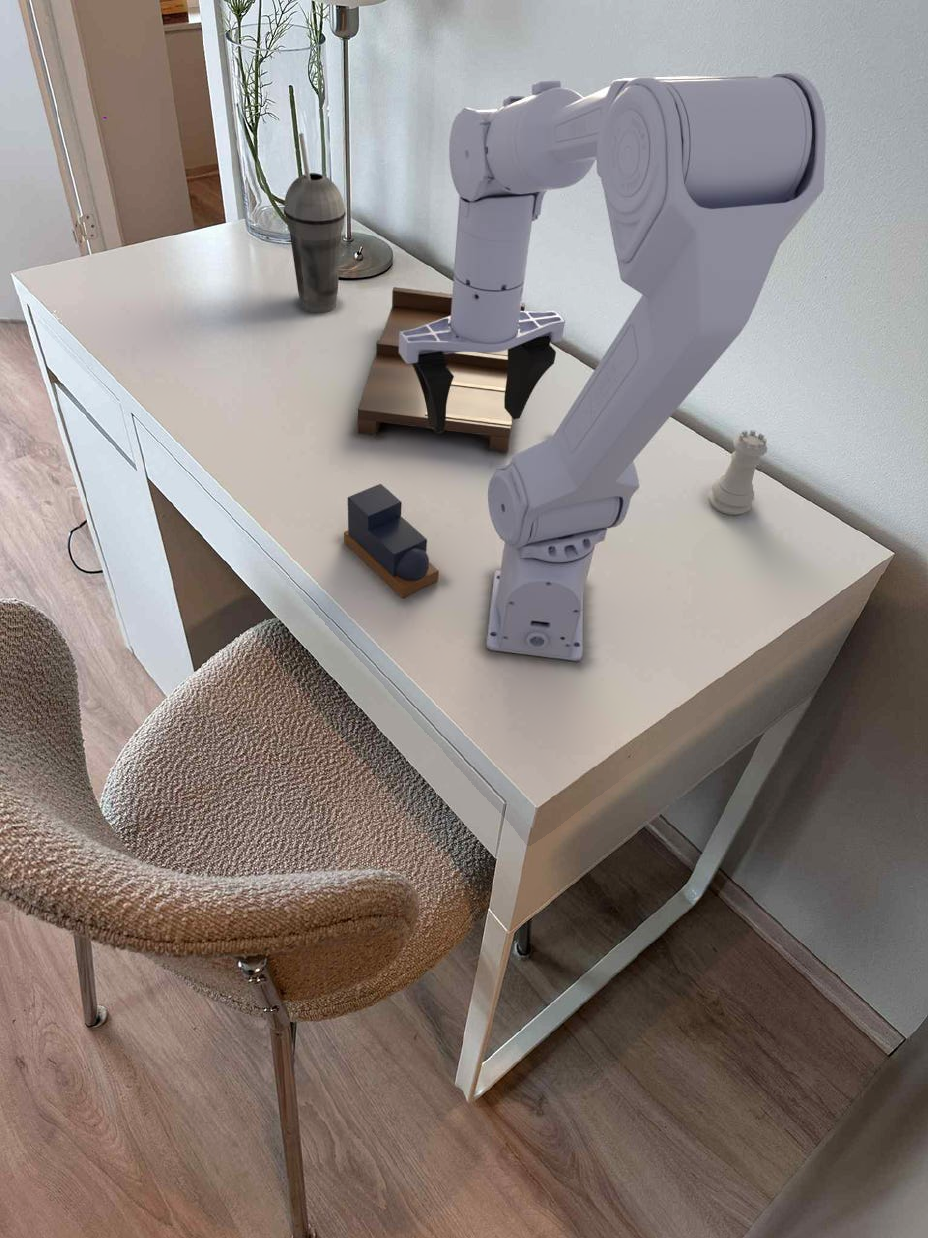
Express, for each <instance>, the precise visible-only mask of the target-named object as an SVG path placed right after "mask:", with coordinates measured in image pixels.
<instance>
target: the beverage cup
mask: <svg viewBox="0 0 928 1238" xmlns="http://www.w3.org/2000/svg"><path fill="white" fill-rule="evenodd" d="M304 135H305V134H304V133H303V132H300V133H299V134H298V138H299V144H300V150H301V157H302V163H303V170H304V174H302V175H300V176H298V177H296V179H294V180H293V181H292V182H291V184H290V186H289V187H288V189H287V191H286V194H285V196H284V207H283V215H284V216H285V222H286V226H287V230H288V232H289V238H290V244H291V251H292V258H293V266H294V272H295V279H296V287H297V293H298V296H299V303H300V307H301V308H302V309H303V310H305V311H306V312H310V313H316V314H319V313H320V314H321V313H328V312H331V311H333V310H335V309H336V306H337V299H338V294H339V293H338V292H339V280H340V279H339V277H340V263H341V262H340V260H341V250H342V249H341V247H342V234H343V231H344V225H345V217H346V215H347V212H346V209H345V204H344V199H343V196H342V194H341V190H339V188H338V186H337V185H336V184H335V182H333V181H332V180H331V179H330V178H329V177H328V176H325V175H324V174H320V173H316V172H310V168H309V167H310V166H309V161H308V155H307V147H306V143H305V136H304Z"/></svg>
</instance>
